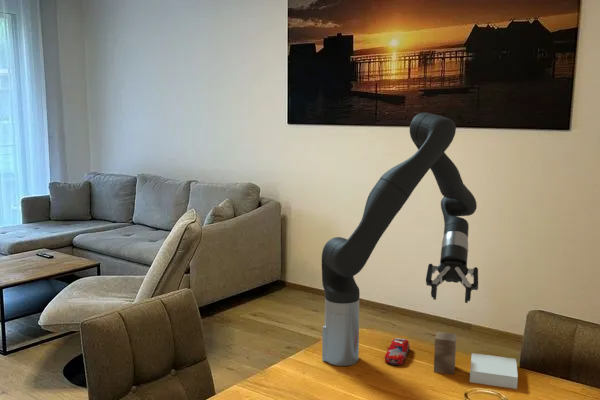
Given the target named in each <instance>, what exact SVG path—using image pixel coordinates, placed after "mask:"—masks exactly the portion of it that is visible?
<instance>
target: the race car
mask: <svg viewBox="0 0 600 400" xmlns="http://www.w3.org/2000/svg"><path fill="white" fill-rule="evenodd" d="M386 349H387V350H386V353H385V354H384V362H385V363H386V364H389V365H394V366H395V365H396V366H401V365H404V364H405V361H406V360H407V357H408V354H409V352H410V342H409V340H408V339H406V338H394V339H393V340H392V341H391V343H390V345H389V347H386Z"/></svg>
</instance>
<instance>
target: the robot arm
mask: <svg viewBox="0 0 600 400" xmlns="http://www.w3.org/2000/svg"><path fill="white" fill-rule="evenodd" d="M456 127H457V125H456V123H455V122H454V120H452V119H450V118H448V117H445V116H442V115H438V114H434V113H430V112H420V113H418V114H416V115H415V116H414V117H413V118H412V120H411V121H410V125H409V135H410V139H411V140H412V142H413V144H414V145H415V146H416V148H417V151H416V152H415V153H414V154H413V155H412V156H410V157H409V158H408V159H406V160H404V161H402V162H401V163H398V164H397V165H395V166H392V168H389V170H387V171H385V172H384V173H383V174H382V175H381V176H380V178H379V179H378V180H377V181H376V183H375V184H374V186H373V188H372V189H371V191H370V192H369V194H368V196H367V199H366V201H365V204H364V205H365V207H364V210H363V213H362V218H361V220H360V222H359V223H358V225H357V227H356V228H355V230H354V231H353V233H351V235H350V236H349V237H348V239H347V238H345V237H341V236H336V237H332V238H330V239H329V240H328V241H327V242H326V243H325V244H324V246H323V248H322V252H321V282H322V283H321V284H322V288H323V291H324V325H323V326H322V330H321V331H322V333H321V334H322V335H321V336H322V342H321V343H322V346H321V347H322V349H321V350H322V352H321V353H322V356H321V357H322V359H321V360H322V361H323V362H327V363H328V364H331V365H333V366H336V367H338V366H339V367H340V366H341V367H344V366H345V367H346V366H347V367H349V366H353V365H355V364H357V363H358V362H359V359H360V358H359V354H360V351H359V349H360V348H359V347H360V293H361V292H360V288H359V286H358V284H357V283H356V280H355V276H356V275H357V274H359V273H360V272H361V271H362V269H364V267H365V266H366V264H367V262H368V260H369V258H370V257H371V255H372V253H373V251H374V249H375V248H376V245H377V244H378V243H379V241H380V239H381V237H382V236H383V234H385V232H386V230H387V229H388V228H389V226H390V225H391V223H392V222H393V220H394V218H395V217H396V216H397V214H399V212H400V211H401V209H402V208H403V207H404V205H405V204H406V202H407V201H408V200H409V198H410V197H411V195H412V193H413V192H414V190H415V189H416V187H417V186H418V185H419V183H420V182H421V181H422V179H423V178H424V177H425V175H427V173H428V172H429V170H430V171H431V172H432V174H433V176H434V179H435V181H436V184H437V186H438V189H439V191H440V193H441V195H442V196H443V197H442V199H441V200H440V209H441V212H442V217H443V222H444V229H443V237H442V242H441V249H440V257H439V258H440V260H439V264H438V265H433V263H428V266H427V270H426V276H425V284H426V286H430V289H431V290H430V294H431V295H430V296H431V298H432V299H433V300H435V301H436V300H437V293H438V287H439V285H442V284H443V283H444V282H446V283H451V282H452V283H457V284H458V283H460V284H461V285H462V286H463V287H464V288H465V293H464V303H465V304H467V303H469V302H470V301H471V297H472V296H471V295H472V291H478V290H479V268H478V267H476V266H475V267H473V268H468V256H469V255H468V253H469V239H468V238H469V230H470V229H469V228H470V227H469V226H470V225H469V222H468V221H467V219H466V218H463V217H468V216H471V215H473V214H475V212H476V210H477V207H478V205H477V201H476V200H477V199H476V197H475V196H474V194H473V193H472V192H471V191H470V190H469V188H468V187H467V186H466V184H464V182H463V179H462V176H461V173H460V171H459V169H458V167H457V166H456V164H455V163H454V162H453V160H451V158H450V157H449V156H448V155H447V153H446V151H447V149H448V148H449V147H450V146H451V144H452V143H453V141H454V139H455V136H456V130H457V128H456ZM436 272H438V274H437V276H436V277H434V279H433V280H432V278H433V274H435V273H436ZM467 275H470V276H471V277H473V283H470V281H469V280H468V277H467Z"/></svg>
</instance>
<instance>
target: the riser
mask: <svg viewBox="0 0 600 400" xmlns="http://www.w3.org/2000/svg"><path fill="white" fill-rule="evenodd" d="M518 374H519V373H518V365H517V358H514V357H513V358H512V357H507V356H505V357H504V356H496V355H491V354H490V355H489V354H483V353H475V352H472V353H471V360H470V370H469V383H472V384H473V383H474V384H478V385H479V384H481V385H486V386H487V385H488V386H495V387H501V388H508V389H514V390H517V389H518V379H519V377H518V376H519V375H518Z"/></svg>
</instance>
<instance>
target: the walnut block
mask: <svg viewBox="0 0 600 400" xmlns="http://www.w3.org/2000/svg"><path fill="white" fill-rule="evenodd" d="M456 348H457V333H453V332H452V333H451V332H444V331H436V333H435V337H434V356H433V357H434V358H433V359H434V361H433V363H434V365H433V372H434V373H441V374H447V375H454V374H455V369H456V354H457V351H456Z"/></svg>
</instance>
